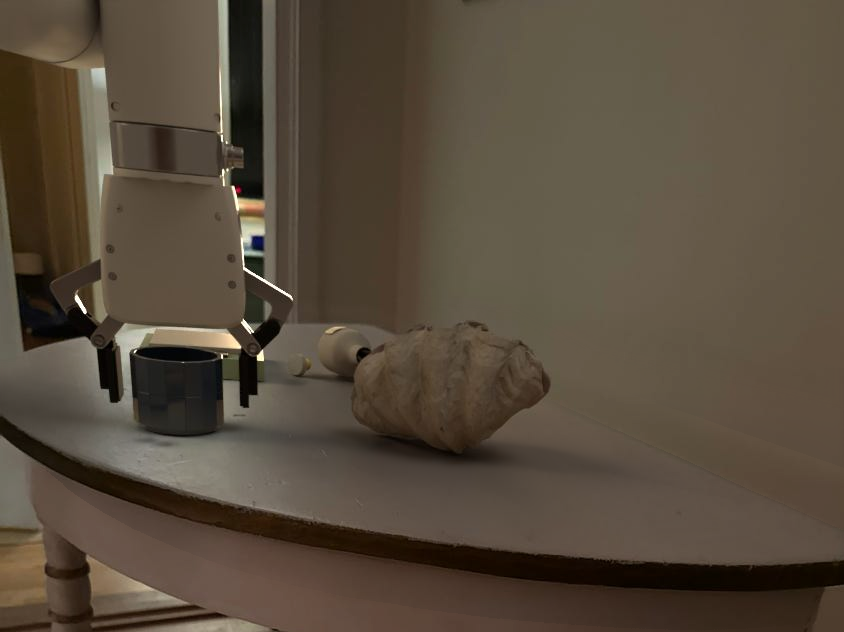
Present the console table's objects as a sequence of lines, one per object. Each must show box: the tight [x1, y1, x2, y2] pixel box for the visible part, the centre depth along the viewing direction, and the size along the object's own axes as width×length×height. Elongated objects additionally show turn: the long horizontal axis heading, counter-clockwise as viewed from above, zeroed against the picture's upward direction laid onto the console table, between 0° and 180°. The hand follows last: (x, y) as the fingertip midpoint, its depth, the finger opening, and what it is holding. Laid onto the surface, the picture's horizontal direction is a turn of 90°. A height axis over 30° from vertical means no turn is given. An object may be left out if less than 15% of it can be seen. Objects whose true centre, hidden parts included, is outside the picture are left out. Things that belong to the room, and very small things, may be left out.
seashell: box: [350, 319, 552, 454], centre depth 73 cm, size 10×15×10 cm
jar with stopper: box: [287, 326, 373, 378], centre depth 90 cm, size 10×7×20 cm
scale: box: [139, 328, 265, 382], centre depth 94 cm, size 12×12×3 cm
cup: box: [128, 346, 225, 436], centre depth 71 cm, size 7×7×6 cm
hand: (181, 401), depth 72 cm, fingers open, 9 cm apart
